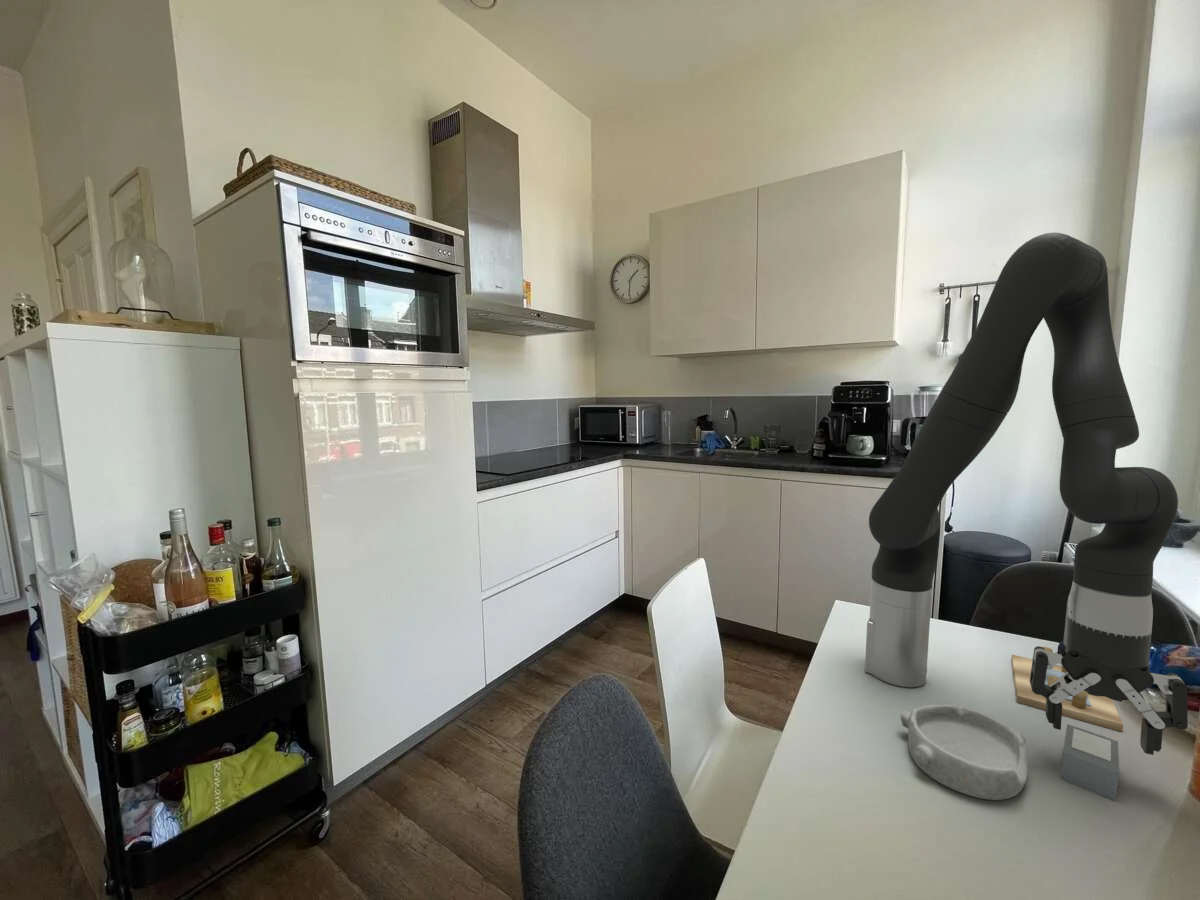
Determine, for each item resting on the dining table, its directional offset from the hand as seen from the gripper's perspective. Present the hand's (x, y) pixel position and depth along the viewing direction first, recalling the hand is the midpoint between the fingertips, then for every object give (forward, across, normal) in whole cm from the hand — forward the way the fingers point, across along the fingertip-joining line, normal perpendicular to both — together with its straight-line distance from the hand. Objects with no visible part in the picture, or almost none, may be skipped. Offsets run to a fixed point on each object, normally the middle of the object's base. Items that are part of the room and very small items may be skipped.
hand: (1099, 737), depth 65 cm
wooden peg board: (+5, -1, +21) cm, 22 cm away
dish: (+5, -15, -8) cm, 18 cm away
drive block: (+5, -1, -1) cm, 5 cm away
